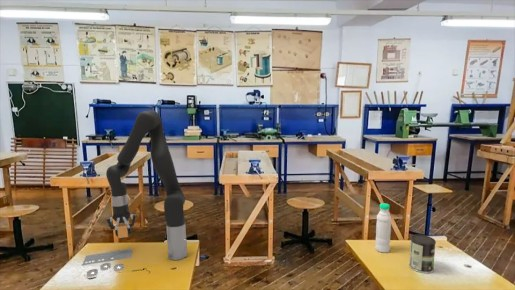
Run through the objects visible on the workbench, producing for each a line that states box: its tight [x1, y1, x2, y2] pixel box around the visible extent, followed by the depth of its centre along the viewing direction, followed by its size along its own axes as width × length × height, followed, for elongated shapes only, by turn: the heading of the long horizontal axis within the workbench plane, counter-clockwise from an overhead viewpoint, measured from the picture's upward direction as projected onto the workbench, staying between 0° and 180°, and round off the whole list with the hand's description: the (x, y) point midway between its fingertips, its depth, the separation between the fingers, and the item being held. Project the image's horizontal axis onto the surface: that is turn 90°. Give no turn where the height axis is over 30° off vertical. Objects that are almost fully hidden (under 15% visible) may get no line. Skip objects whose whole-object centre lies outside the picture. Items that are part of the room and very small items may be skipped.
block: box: [117, 223, 129, 239], centre depth 159 cm, size 4×4×6 cm
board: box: [81, 248, 133, 266], centre depth 156 cm, size 22×10×1 cm, turn 109°
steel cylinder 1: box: [86, 268, 99, 280], centre depth 141 cm, size 4×4×2 cm
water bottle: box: [374, 202, 392, 254], centre depth 161 cm, size 7×7×25 cm
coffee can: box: [408, 234, 437, 274], centre depth 144 cm, size 10×10×14 cm
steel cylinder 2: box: [100, 262, 112, 271], centre depth 146 cm, size 4×4×2 cm
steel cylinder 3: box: [113, 263, 125, 272], centre depth 145 cm, size 4×4×2 cm
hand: (123, 235), depth 159 cm, fingers closed on block, 4 cm apart
